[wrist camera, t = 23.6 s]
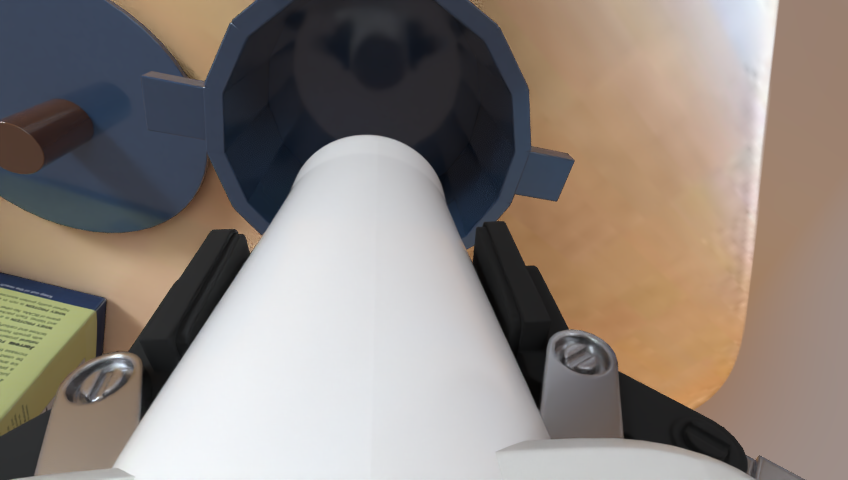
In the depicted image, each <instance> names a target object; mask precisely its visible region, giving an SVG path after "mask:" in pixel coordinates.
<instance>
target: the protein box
mask: <svg viewBox="0 0 848 480" xmlns="http://www.w3.org/2000/svg"><path fill="white" fill-rule="evenodd" d="M105 313H106V299H105V298H103V297H99V296H95V295H91V294H87V293H82V292H78V291H74V290H70V289H66V288H62V287H58V286H54V285H50V284H45V283H41V282H37V281H33V280H29V279H25V278H21V277H17V276H13V275H8V274H4V273H0V436H2V435H4V434H5V433H7V432H9V431H11V430H13V429H15V428H16V427H18V426H20V425H22V424H24V423H26V422H27V421H29V420H31V419H33V418H35V417H37V416H39V415H40V414H42V413H44V412H46V411H48V410H50V409H51V408H52V406H53V402H54V399H55V395H56V392H57V390H58V388H59V386H60V383H61V382H62V381H63V380H64V379H65V378H66V377H67V375H68V374H69V373H71V372H72V371H73V370H75V369H76V368H77V367H78V366H80V365H82V364H83V363H85V362H87V361H89V360H91V359H93V358H95V357H98V356H101V355H102V353H103V340H104V328H105Z"/></svg>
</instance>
